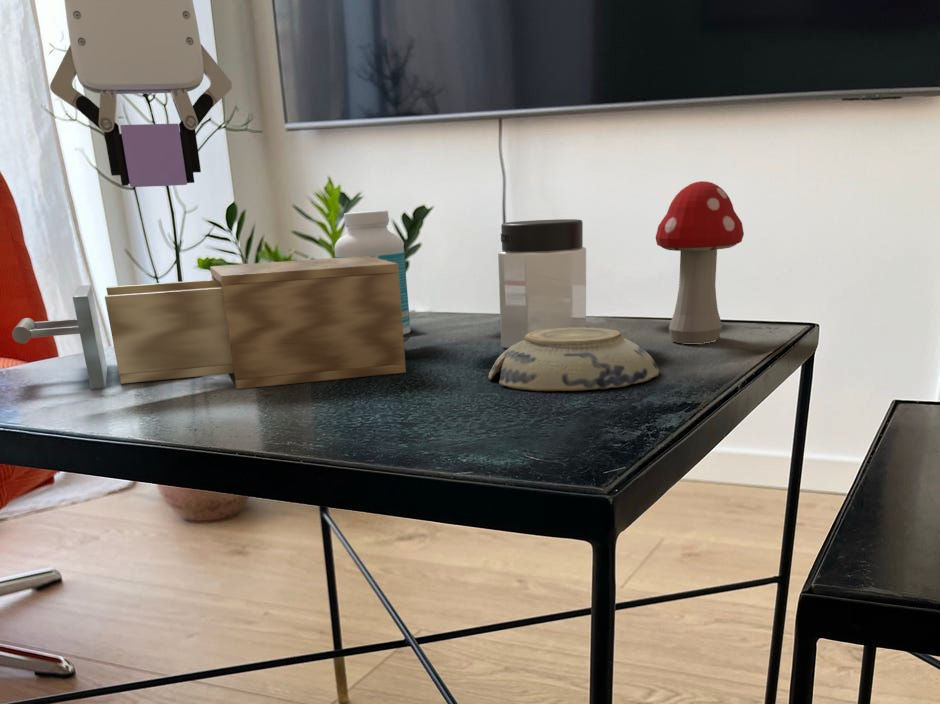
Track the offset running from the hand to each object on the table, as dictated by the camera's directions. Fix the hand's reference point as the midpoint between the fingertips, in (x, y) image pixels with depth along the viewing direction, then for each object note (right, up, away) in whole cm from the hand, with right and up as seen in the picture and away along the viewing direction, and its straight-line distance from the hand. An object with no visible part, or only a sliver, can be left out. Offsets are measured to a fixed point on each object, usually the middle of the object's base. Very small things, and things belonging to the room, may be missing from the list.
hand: (157, 181), depth 87 cm
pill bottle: (+16, -7, +26) cm, 31 cm away
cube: (0, 0, 0) cm, 0 cm away
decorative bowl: (+36, -16, +3) cm, 39 cm away
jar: (+34, -9, +19) cm, 40 cm away
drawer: (-4, -15, +7) cm, 17 cm away
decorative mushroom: (+50, -8, +18) cm, 54 cm away
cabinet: (+11, -13, +12) cm, 21 cm away
